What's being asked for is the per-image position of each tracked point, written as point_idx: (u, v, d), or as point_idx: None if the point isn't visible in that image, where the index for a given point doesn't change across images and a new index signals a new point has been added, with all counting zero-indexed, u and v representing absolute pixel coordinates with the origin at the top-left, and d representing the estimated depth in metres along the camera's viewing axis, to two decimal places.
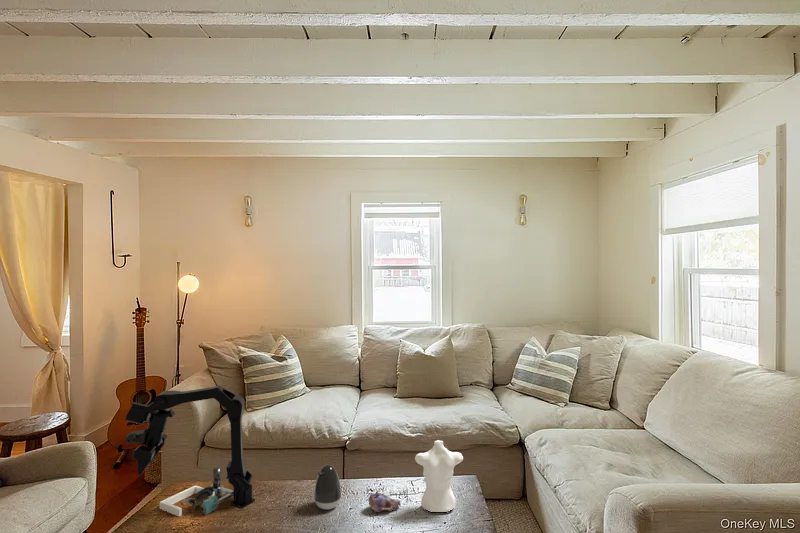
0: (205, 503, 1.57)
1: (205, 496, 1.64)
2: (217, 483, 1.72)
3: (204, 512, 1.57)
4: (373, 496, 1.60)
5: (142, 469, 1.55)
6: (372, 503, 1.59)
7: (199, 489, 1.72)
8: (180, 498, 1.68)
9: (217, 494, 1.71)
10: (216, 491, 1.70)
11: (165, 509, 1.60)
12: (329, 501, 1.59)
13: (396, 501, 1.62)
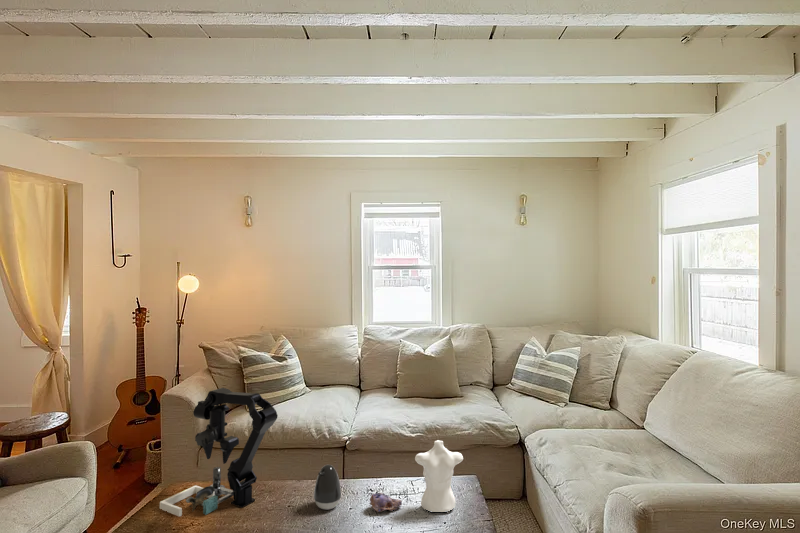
0: (205, 503, 1.57)
1: (206, 495, 1.65)
2: (217, 483, 1.72)
3: (204, 512, 1.57)
4: (374, 496, 1.60)
5: (227, 457, 1.71)
6: (373, 503, 1.59)
7: (199, 489, 1.72)
8: (180, 498, 1.68)
9: (217, 494, 1.71)
10: (216, 491, 1.70)
11: (165, 509, 1.60)
12: (329, 501, 1.59)
13: (397, 501, 1.62)
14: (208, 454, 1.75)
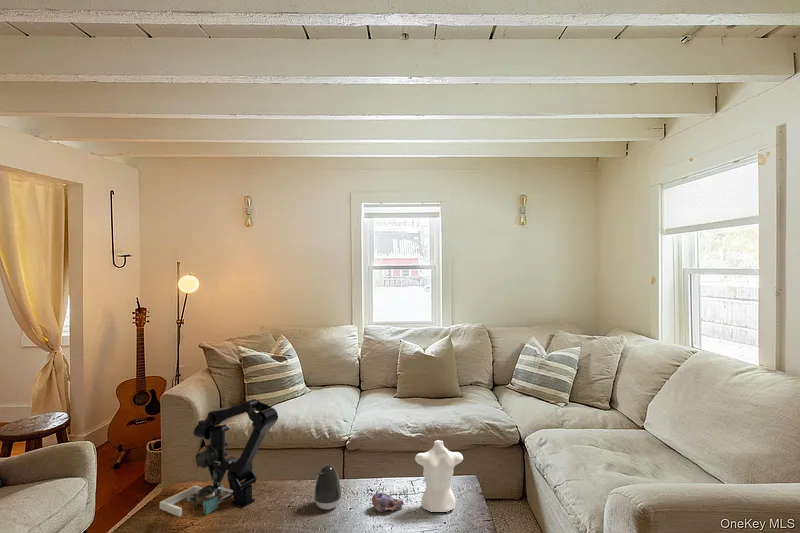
0: (205, 503, 1.57)
1: (206, 494, 1.66)
2: (217, 483, 1.72)
3: (204, 512, 1.57)
4: (376, 496, 1.60)
5: (222, 476, 1.72)
6: (375, 503, 1.59)
7: (199, 489, 1.72)
8: (180, 498, 1.68)
9: (217, 494, 1.71)
10: (216, 491, 1.70)
11: (165, 509, 1.60)
12: (329, 501, 1.59)
13: (399, 501, 1.62)
14: None
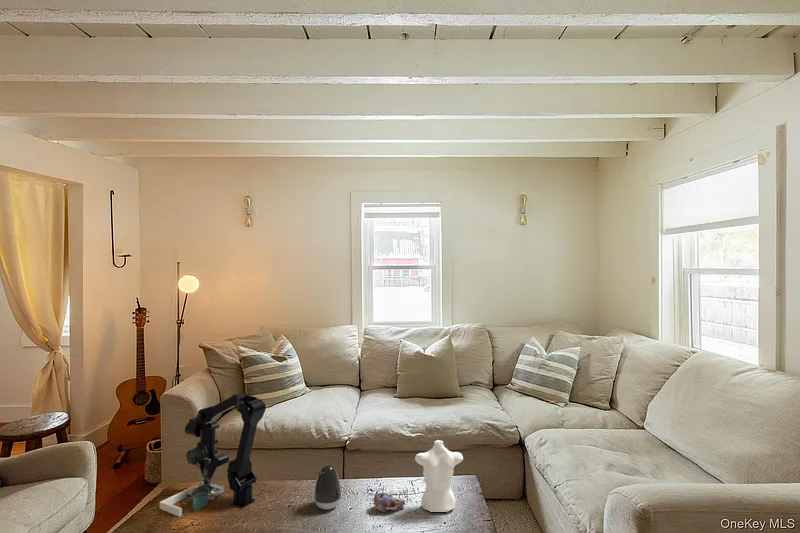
0: (195, 499, 1.60)
1: None
2: (208, 480, 1.74)
3: (194, 508, 1.60)
4: (378, 496, 1.60)
5: (212, 473, 1.75)
6: (377, 503, 1.59)
7: None
8: (180, 498, 1.68)
9: None
10: (216, 491, 1.70)
11: (165, 509, 1.60)
12: (329, 501, 1.59)
13: (401, 501, 1.63)
14: None
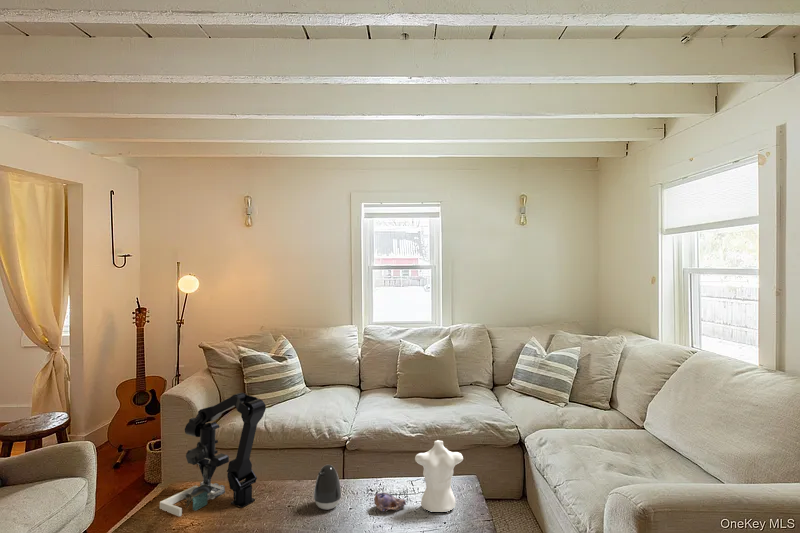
0: (195, 499, 1.60)
1: None
2: (208, 480, 1.74)
3: (194, 508, 1.60)
4: (379, 496, 1.60)
5: (212, 473, 1.75)
6: (378, 503, 1.59)
7: None
8: (180, 498, 1.68)
9: None
10: None
11: (165, 509, 1.60)
12: (329, 501, 1.59)
13: (401, 500, 1.63)
14: None
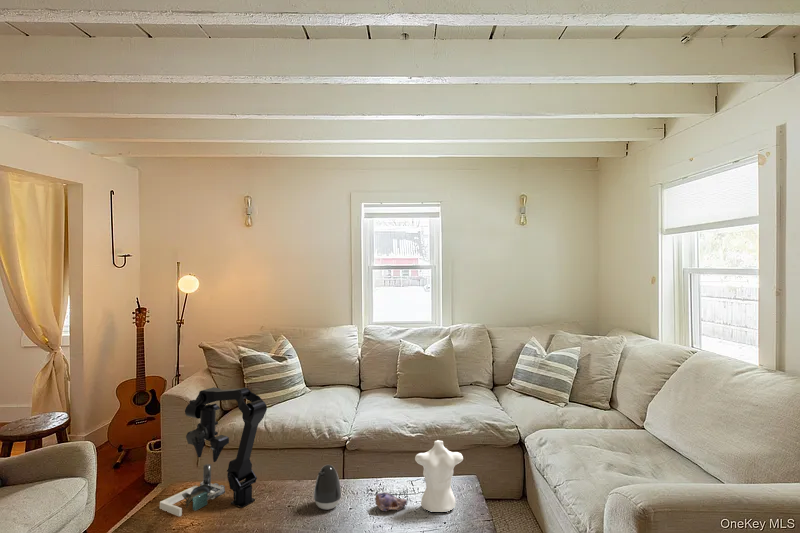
0: (195, 499, 1.60)
1: None
2: (208, 480, 1.74)
3: (194, 508, 1.60)
4: (380, 496, 1.61)
5: (217, 456, 1.74)
6: (379, 503, 1.59)
7: None
8: (180, 498, 1.68)
9: None
10: None
11: (165, 509, 1.60)
12: (329, 501, 1.59)
13: (402, 500, 1.63)
14: (199, 453, 1.78)
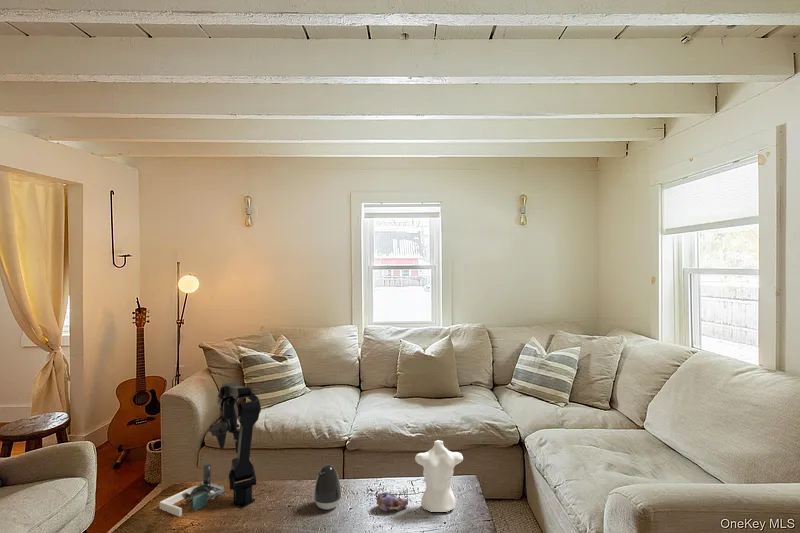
0: (195, 499, 1.60)
1: None
2: (208, 480, 1.74)
3: (194, 508, 1.60)
4: (381, 495, 1.61)
5: None
6: (380, 502, 1.59)
7: None
8: (180, 498, 1.68)
9: None
10: None
11: (165, 509, 1.60)
12: (329, 501, 1.59)
13: (404, 500, 1.63)
14: (222, 444, 1.85)
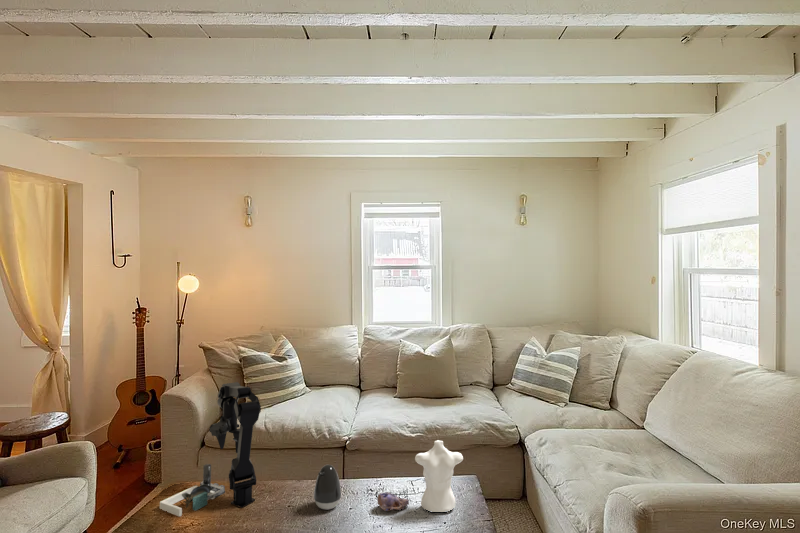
0: (195, 499, 1.60)
1: None
2: (208, 480, 1.74)
3: (194, 508, 1.60)
4: (382, 495, 1.61)
5: None
6: (381, 502, 1.59)
7: None
8: (180, 498, 1.68)
9: None
10: None
11: (165, 509, 1.60)
12: (329, 501, 1.59)
13: (405, 500, 1.63)
14: (222, 444, 1.85)
